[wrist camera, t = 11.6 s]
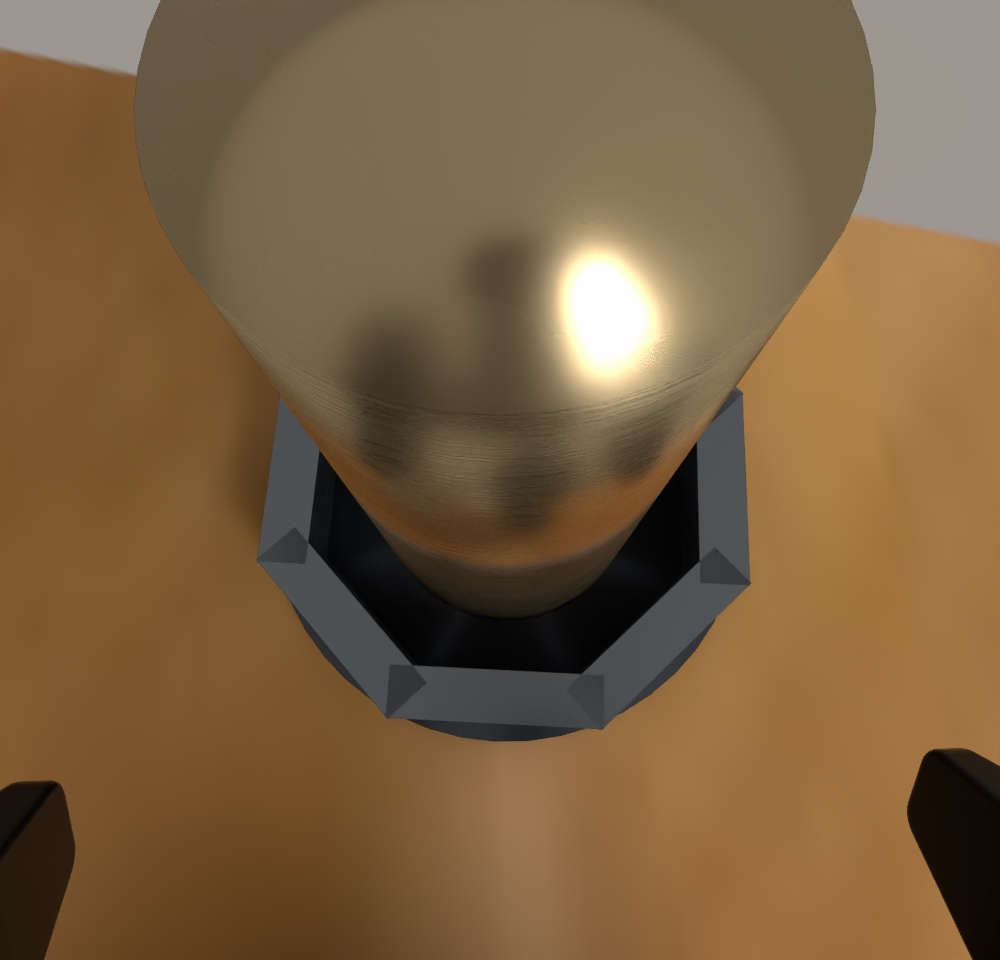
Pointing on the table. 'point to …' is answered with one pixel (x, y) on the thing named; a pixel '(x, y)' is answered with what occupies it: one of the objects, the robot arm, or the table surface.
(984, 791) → the robot arm
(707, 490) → the ring collar
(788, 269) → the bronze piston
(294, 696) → the table surface
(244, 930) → the table surface
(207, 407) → the table surface
